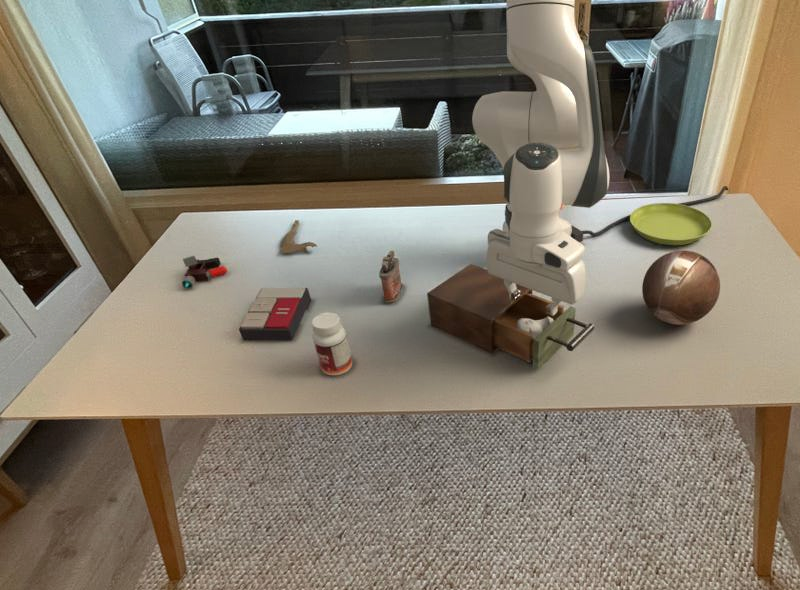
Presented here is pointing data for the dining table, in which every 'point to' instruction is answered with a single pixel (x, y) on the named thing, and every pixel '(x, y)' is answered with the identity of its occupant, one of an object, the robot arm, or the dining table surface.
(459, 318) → the cabinet
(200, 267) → the toy gun
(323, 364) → the pill bottle
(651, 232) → the saucer
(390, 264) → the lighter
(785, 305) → the dining table surface
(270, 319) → the calculator
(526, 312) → the drawer
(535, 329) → the white mannequin head
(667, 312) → the wooden sphere
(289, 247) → the jawbone
